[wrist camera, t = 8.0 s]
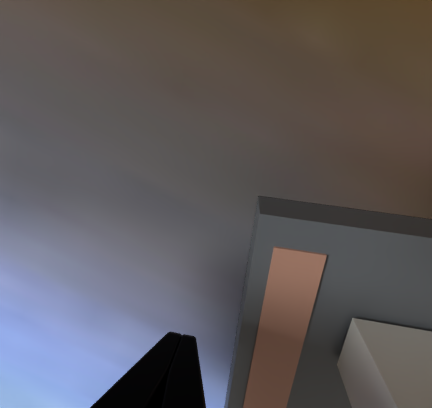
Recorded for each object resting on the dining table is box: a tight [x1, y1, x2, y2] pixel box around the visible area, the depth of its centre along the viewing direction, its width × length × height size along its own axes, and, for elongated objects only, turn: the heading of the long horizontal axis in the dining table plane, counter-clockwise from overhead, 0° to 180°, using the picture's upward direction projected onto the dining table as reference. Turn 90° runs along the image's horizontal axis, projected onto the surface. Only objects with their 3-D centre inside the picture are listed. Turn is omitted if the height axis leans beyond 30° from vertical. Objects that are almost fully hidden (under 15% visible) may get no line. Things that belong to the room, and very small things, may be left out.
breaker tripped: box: [337, 318, 432, 408], centre depth 7 cm, size 3×2×4 cm, turn 84°
